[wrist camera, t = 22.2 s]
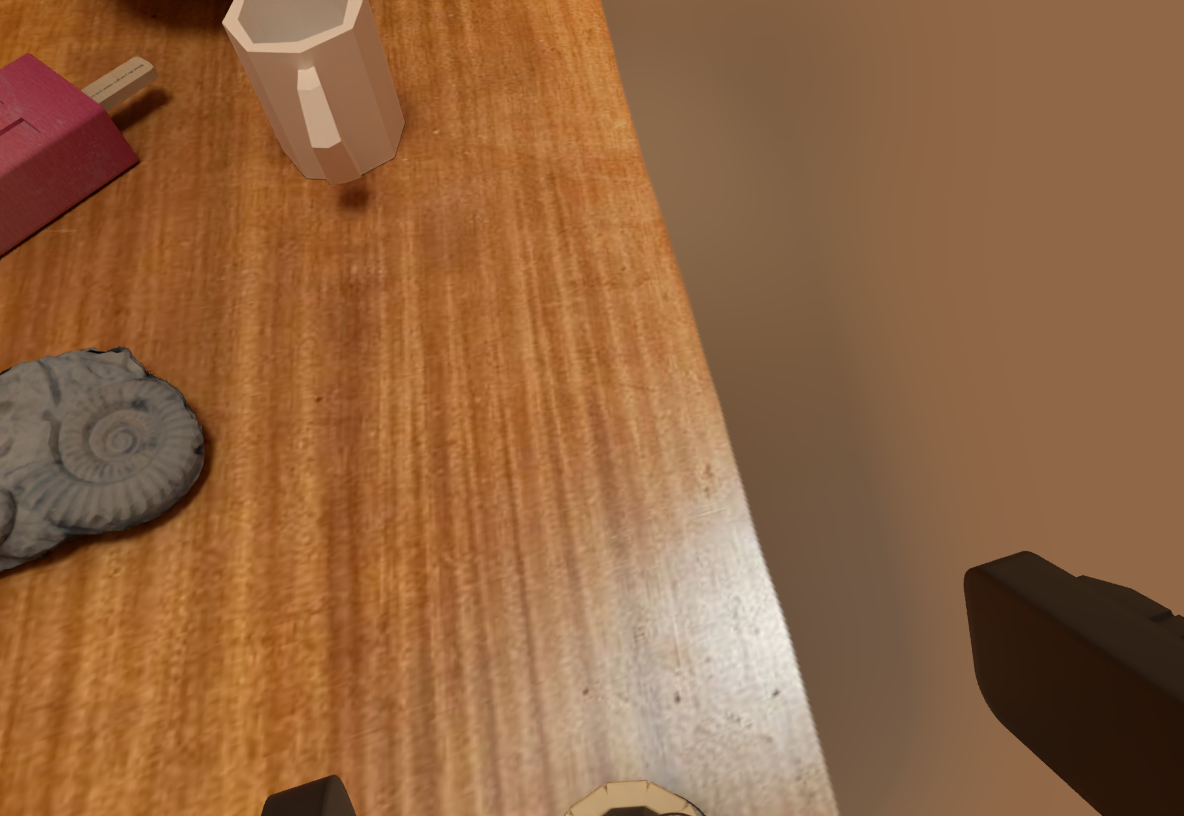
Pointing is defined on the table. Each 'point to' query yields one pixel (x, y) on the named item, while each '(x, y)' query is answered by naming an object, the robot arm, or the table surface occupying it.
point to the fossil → (89, 450)
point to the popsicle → (58, 141)
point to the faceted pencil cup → (630, 801)
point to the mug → (320, 82)
